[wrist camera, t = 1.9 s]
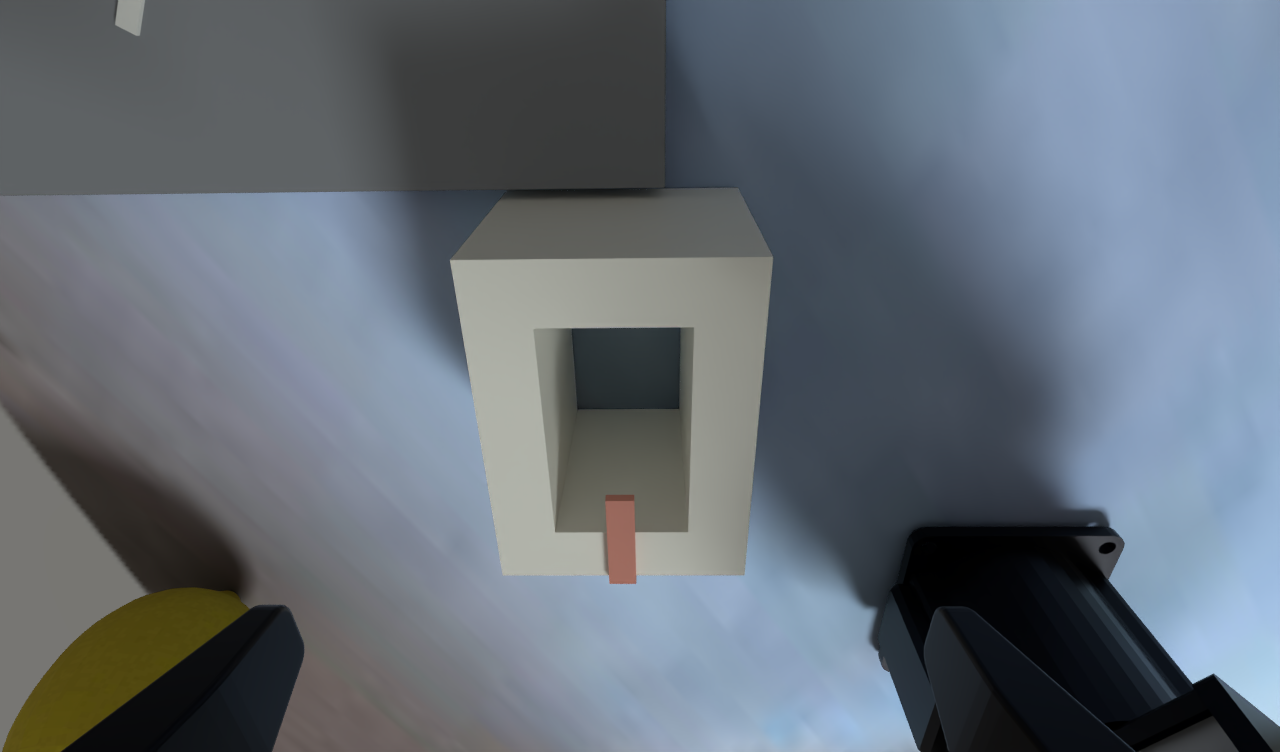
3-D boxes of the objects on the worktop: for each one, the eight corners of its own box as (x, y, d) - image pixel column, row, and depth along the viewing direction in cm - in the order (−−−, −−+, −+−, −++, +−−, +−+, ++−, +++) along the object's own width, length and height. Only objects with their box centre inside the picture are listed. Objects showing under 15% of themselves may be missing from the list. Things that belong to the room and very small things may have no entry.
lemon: (284, 665, 24) (136, 930, 17) (131, 609, 23) (-99, 872, 16) (335, 579, 22) (187, 843, 15) (168, 509, 20) (-82, 766, 13)
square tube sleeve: (737, 187, 15) (775, 260, 11) (722, 447, 19) (745, 583, 14) (506, 190, 15) (446, 264, 11) (536, 448, 19) (501, 583, 14)
